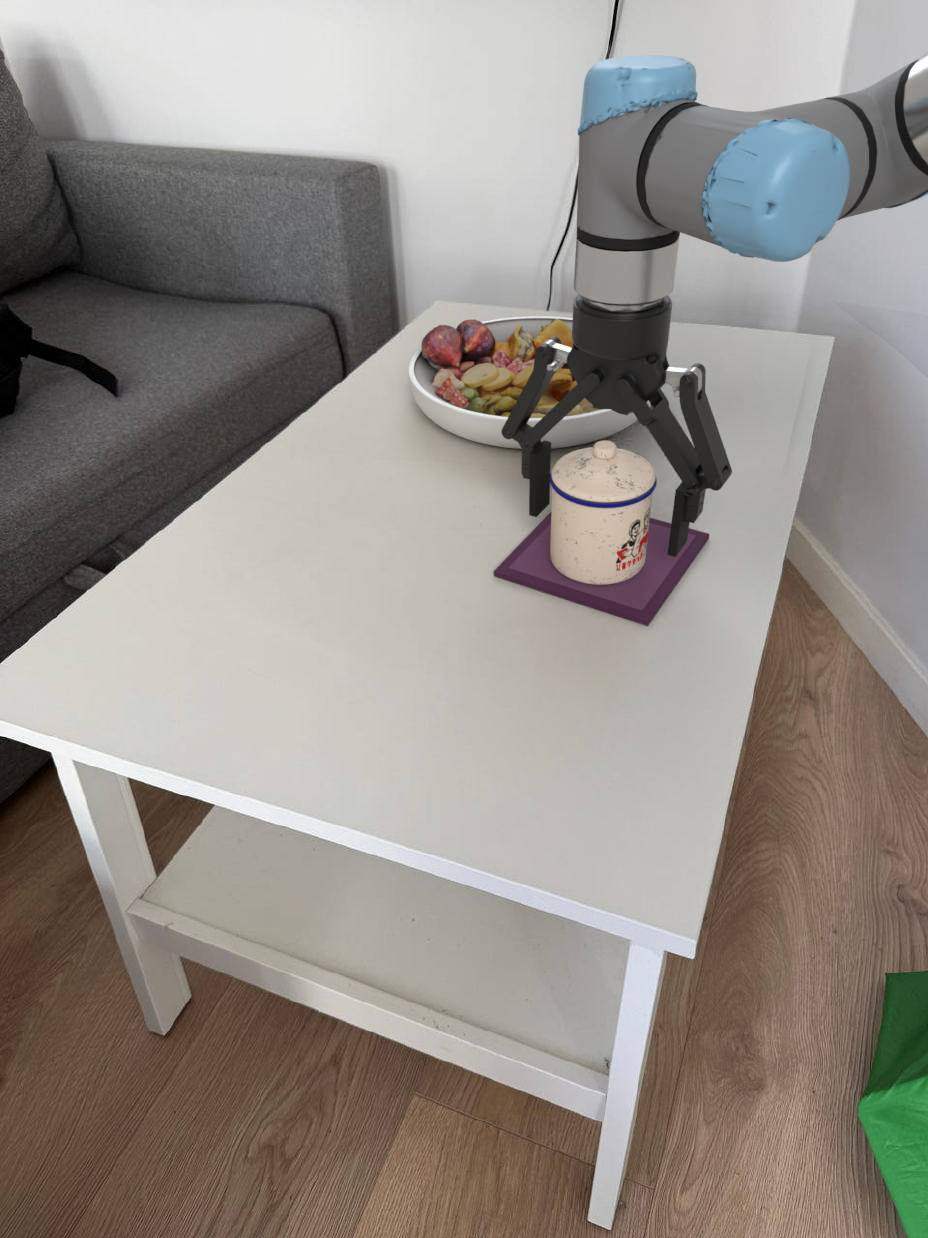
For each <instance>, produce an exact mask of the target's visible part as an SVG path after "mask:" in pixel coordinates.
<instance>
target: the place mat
mask: <svg viewBox="0 0 928 1238" xmlns="http://www.w3.org/2000/svg"><path fill="white" fill-rule="evenodd" d="M551 512H552V510H551V511H550V512H549V513H548V514H547V515H546V516H545V517H544V518H543V519H542V520H541V521H540V522H539V524H538V525H536V526H535V528H534V529H533V530H532V531H531V532H530V533H529V534H527V536H526V537H525V538H524V539H523V540H522V541H521V542H520V543H519V544H518V545H517V546H516V547H515V548H514V549H513V551H511V553H510V554H509V555H507V557H505V559H504V560H503V561H502V562H501V563H500V564H499V565H498V566H497V567H496V568H495V569H494V570H493V577H495V578H499V579H502V580H505V581H507V582H511V583H514V584H517V585H520V586H523V587H526V588H530V589H533V590H535V591H539V592H542V593H545V594H547V595H551V596H554V597H557V598H560V599H564V600H566V601H570V602H573V603H575V604H578V605H582V606H585V607H588V608H591V609H594V610H597V611H600V612H603V613H605V614H609V615H613V616H616V617H618V618H620V619H621V618H623V619H625V620H628V621H631V622H634V623H637V624H640V625H644V626H646V627H648V626H649V625H650V624H651V623H652V621H653V620H654V618H655V617H656V616H657V614H658V613H659V611H660V609H661V608H662V607H663V605H664V604H665V603H666V601H667V600H668V598H669V597H670V595H672V592H673V591H674V590H675V588H676V587H677V585H678V584H679V583H680V582H681V580H682V578H683V577H684V575H685V574H686V573H687V571H688V570H689V568H690V567H691V565H692V564H693V563H694V561H695V559H697V557H698V555H699V554H700V552H701V551H702V549H704V547H705V545H706V544H707V542H708V541H709V539H710V533H708V532H704V531H701V530H697V529H693V528H690V527H689V530H688V537H687V542H686V544H685V545H684V546H683V548H682V549H681V550H680V552H679V553H678V555H677V556H676V557H673V556H670V555H667V554H668V546H669V538H670V530H671V522H668V521H663V520H660V519H658V518H653V517H650V521H649V530H648V540H647V549H646V558H645V563H644V565H643V567H642V569H641V570H640V571H639V572H638V573H637V574H636V575H635V576H633V577H631V578H630V579H628V580H625V581H622V582H619V583H614V584H607V585H594V584H586V583H582V582H578V581H575V580H572V579H570V578H568V577H566V576H565V575H563V574H562V573H560V572H559V571H558V570H557V569H556V568H555V566H554V565H553V563H552V561H551V557H550V545H551Z"/></svg>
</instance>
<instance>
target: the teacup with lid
mask: <svg viewBox="0 0 928 1238" xmlns="http://www.w3.org/2000/svg"><path fill="white" fill-rule="evenodd" d="M657 484H658V479H657V476H656V472H655V469H654V467H653V466H652V464H651V463H650V462H649V461H648V460H647V459H646V458H644V457H643V456H641V455H639V454H637V453H635V452H633V451H630V450H627V449H623V448H618V447H617V445H616V443H615V442H613V441H611V440H605V439H604V440H598V441H596V442H595V444H593V446H591V447H584V448H580V449H576V450H573V451H571V452H568V453H566V454H564V455H562V457H560V458H559V459H557V461H556V462H555V464H554V465H553V467H552V468H551V470H550V487H551V511H552V512H551V511H550V512H551V545H550V557H551V561H552V563H553V565H554V566H555V568H556V569H557V570H558V571H559V572H560V573H562V574H563V575H565V576H566V577H568V578H570V579H572V580H575V581H578V582H582V583H586V584H594V585H607V584H614V583H619V582H622V581H625V580H628V579H630V578H631V577H633V576H635V575H636V574H637V573H638V572H639V571H640V570H641V569H642V567H643V565H644V563H645V558H646V549H647V540H648V530H649V521H650V518H651V513H652V512H651V511H652V502H653V492H654V491H655V490H656V487H657Z"/></svg>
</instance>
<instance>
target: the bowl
mask: <svg viewBox="0 0 928 1238" xmlns="http://www.w3.org/2000/svg"><path fill="white" fill-rule="evenodd" d="M572 324H573V317H567V316H566V317H565V316H551V315H549V316H548V315H546V316H545V315H541V316H540V315H531V316H528V315H527V316H512V317H502V318H495V319H489V320H484V321H480V320H477V319H465V320H462V321H461V322H460V323H459V324H458V325H457V326H456V328H455V327H454V326H451V325H447V324H439V325H437V326H435V327H433V329H431V330H430V331H428V332H427V333H426V334H425V336H424V337H423V338H422V340H421V345H420V346H421V347H419V348H418V350H416V351H415V353H414V354H413V355H412V356H411V358H410V361H409V363H408V366H407V376H408V383H409V389H410V392H411V395H412V397H413V399H414V401H415V402H416V405H417V406H418V407H419V408H420V410H421V411H422V413H423V414H425V416H427V417H428V418H429V420H431V421H432V422H433V423H435V424H436V425H437V426H439V427H440V428H442V429H444V430H445V431H447V432H449V433H451V434H454V435H456V436H458V437H461V438H463V439H465V440H469V441H472V442H476V443H479V444H482V445H488V446H493V447H499V448H507V449H518V450H522V449H521V447H520V445H519V443H518V442H517V441H515V440H514V439H512V438H511V439H506V438H504V437H503V435H502V432H501V431H502V428H503V426H504V425H505V423H506V421H507V419H508V417H509V415H510V413H511V411H512V409H513V408H514V406H515V404H516V402H517V400H518V398H519V396H520V394H521V392H522V391H523V389H524V387H525V385H526V383H527V381H528V379H529V377H530V375H531V374H532V372H533V368H534V360H535V352H536V349H537V348H538V347H539V346H540V345H542V344H543V343H544V342H546V341H547V340H548V339H550V338H551V337H553V336H556V337H558V338H559V339H560V340H561V344H562V345H565V346H568V347H571V348H572V346H573V340H572ZM576 385H577V382H576V381H575V379H574V377H573V375H572V373H571V372H570V370H569V368H568V366H567V363H564V365H563V366H562V367H561V368H560V369H558V370H557V371H556V372H555V374H554V375H553V377H552V379H551V381H550V383H549V384H548V386H547V388H546V390H545V392H544V393H543V395H542V397H541V399H540V401H539V402H538V404H537V406H536V408H535V410H534V412H533V413H532V415H531V417H530V419H529V421H528V422H527V424H528V425H530V426H531V427H534V426H535V425H536V424H537V423H538V422H539V421H540V420H541V419H542V418H543V417H544V416H545V415H546V414H547V413H548V412H549V411H550V410H551V409H552V408H553V407H554V406H556V405H557V404H558V403H559V402H560V401H561V400H562V399H563V398H564V397H565V396H566V395H567V394H568V393H569V392H570V391H571V390H572V389H573V388H574V387H575V386H576ZM647 404H648V405H649V407H651V404H650V402H649V400H648V401H647ZM637 421H638V419H637V418H636V416H635V414H634V413H629V414H628V415H623V414H619V413H617V412H615V411H613V410H611V409H596V408H593V405H592V404H591V403H589V402H588V401H587V399H586V398H584V399H583V400H582V401H581V402H580V403H579V404H578V405H577V406H576V407H575V408H574V409H573V410H571V411H570V412H569V413H568V414H567V415H566V416H565V417H564V418H563V419H562V420H561V421H560V422H559V423H558V424H556V425H555V426H554V427H553V428H552V429H551V430H550V431H549V432H548V433H547V434H546V435H545V436H544V437H543V438H541V442H542V441H544V440H545V441H549V442H551V449H560V448H569V447H575V446H580V445H585V444H588V443H593V442H597V441H600V440H602V439H605V438H607V437H610V436H613V435H615V434H617V433H619V432H621V431H623V430H624V429H627V428H628V427H631V425H633V424H634V423H636V422H637Z"/></svg>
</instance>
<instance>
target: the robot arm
mask: <svg viewBox="0 0 928 1238" xmlns="http://www.w3.org/2000/svg"><path fill="white" fill-rule="evenodd" d="M697 97H698V92H697V70H696V66H695V65H694V64H693V63H692V62H691V61H689V60H686V59H685V58H683V57H678V56H672V55H671V56H670V55H658V54H657V55H654V54H653V55H649V54H648V55H647V54H646V55H645V54H644V55H626V56H617V57H611V58H606V59H603V60H600V61H598V62H596V63H595V64H593V65H592V66H591V67H590V69H588V71H587V73H586V75H585V77H584V81H583V91H582V100H581V110H580V121H579V126H578V128H577V136H578V166H577V167H578V168H577V171H578V172H577V198H576V200H577V202H576V204H577V205H576V207H577V208H576V237H575V238H576V240H575V256H574V272H573V273H574V274H573V290H574V291H575V293H577V295H576V296H575V297H574V299H573V303H572V318H573V324H572V340H573V346H572V348H571V347H568V346H565V345H562V344H561V340H560V339H559V338H558V337H556V336H553V337H551V338H550V339H548V340H547V341H546V342H544V343H543V344H542V345H540V346H539V347H538V348H537V349H536V352H535V360H534V368H533V372H532V374H531V375H530V377H529V379H528V381H527V383H526V385H525V387H524V389H523V391H522V392H521V394H520V396H519V398H518V400H517V402H516V404H515V406H514V408H513V409H512V411H511V413H510V415H509V417H508V419H507V421H506V423H505V425H504V426H503V428H502V431H501V432H502V435H503V437H504V438H506V439H511V438H512V439H514V440H515V441H517V442H518V443H519V445H520V447H521V449H520V450H521V475H522V479H525V480H528V481H529V484H528V485H529V486H528V487H529V489H528V490H529V491H528V492H529V493H528V516H531V517H533V518H537V517H538V516H539V515H540V514H541V513H542V512H543V511H544V510H545V509H546V508H547V507H548V506H549V505H550V499H551V498H550V497H551V483H550V473H551V469H552V468H551V467H552V465H551V464H552V448H551V442H549V441H545V440H544V441H542V442H541V438H543V437H544V436H545V435H546V434H547V433H548V432H549V431H550V430H551V429H552V428H553V427H554V426H555V425H556V424H558V423H559V422H560V421H561V420H562V419H563V418H564V417H565V416H566V415H567V414H568V413H569V412H570V411H571V410H573V409H574V408H575V407H576V406H577V405H578V404H579V403H580V402H581V401H582V400H583V399H584V398H586V399H587V401H588V402H589V403H591V404H592V405H593V408H596V409H611V410H613V411H615V412H617V413H619V414H623V415H628V414H629V413H634V414H635V416H636V418H637V419H638V420H637V421H638V423H639V424H640V425H641V426H643V427H646V428H647V430H648V432H649V433H650V435H651V437H653V440H654V441H655V442H656V443H657V445H658V447H659V448H660V450H661V451H662V453H663V455H664V456H665V458H666V459H667V461H668V462H669V464H670V465H671V467H672V468H673V470H674V472H675V473H676V475H677V476H678V478H679V480H680V481H681V483H680V484H679V485H678V486H677V487H676V489H675V492H674V498H673V499H674V500H673V507H672V515H671V522H670V523H671V530H670V538H669V546H668V554H667V555H670V556H673V557H676V556H677V555H678V553H679V552H680V550H681V549H682V548H683V546H684V545H685V544H686V542H687V537H688V530H689V528H690V524H695V522H697V520H698V519H699V517H700V516H701V514H702V513H703V511H704V504H705V498H706V491H707V490H709V489H711V490H712V491H715V492H716V491H717V492H718V491H720V490H721V489H722V488H723V486H724V485H725V484H726V482H728V480H729V478H730V477H731V476H732V473H733V469H732V466H731V464H730V460H729V457H728V454H727V452H726V448H725V445H724V442H723V439H722V437H721V434H720V431H719V428H718V425H717V422H716V419H715V416H714V413H713V411H712V406H711V404H710V402H709V398H708V395H707V393H706V367H705V366H704V365H703V364H702V363H699V362H697V363H694V364H693V365H691V367H679V366H670V363H669V361H668V355H667V352H668V347H669V346H668V345H669V338H670V328H671V320H672V319H671V318H672V312H673V311H672V309H673V300H672V299H671V297H670V296H669V295H670V294H671V293H673V291H674V287H675V281H676V280H675V278H676V270H677V263H678V262H677V261H678V251H679V244H680V243H679V242H680V236H681V234H684V235H687V236H689V237H692V238H696V239H698V240H701V241H704V242H707V243H710V244H712V245H715V246H718V247H721V248H722V249H724V250H727V251H728V252H729V253H731V254H738V255H739V256H741V257H744V258H753V259H754V258H756V259H762V260H767V261H770V262H776V263H786V262H787V263H789V262H792V261H796V260H798V259H800V258H803V257H804V256H807V255H808V254H809V253H811V251H812V249H813V247H814V245H815V244H816V243H818V242H820V241H824V239H825V238H827V236H828V235H829V234H830V232H831V231H832V230H833V228H834V227H835V225H836V223H837V222H838V221H841V220H843V219H846V218H851V217H854V216H858V215H862V214H866V213H869V212H873V211H879V210H881V209H893V208H898V207H901V206H904V205H906V204H910V203H912V202H914V201H918V200H919V199H922V198H924V197H925V196H927V195H928V51H927V52H926V53H924V54H922V55H921V56H920V57H919V58H918V59H916V60H914V61H912V62H910V63H908V64H906V65H904V66H903V67H901V68H899V69H898V70H896V71H894V72H893V73H891V74H889V75H888V76H885V77H883V78H882V79H881V80H878V81H877V82H876V83H874V84H872V85H870V86H868V87H865V88H863V89H861V90H858V91H855V92H854V91H853V92H849V93H843V94H840V95H834V96H829V97H825V98H820V99H816V100H809V101H805V102H800V103H799V102H798V103H795V104H788V105H782V106H778V107H773V108H768V109H763V110H755V111H743V110H742V111H741V110H734V109H727V108H721V107H716V106H715V107H714V106H710V105H706V104H702V103H699V102H697V100H698V98H697ZM564 363H567V366H568V368H569V370H570V372H571V373H572V375H573V377H574V379H575V381H576V382H577V385H576V386H575V387H574V388H573V389H572V390H571V391H570V392H569V393H568V394H567V395H566V396H565V397H564V398H563V399H562V400H561V401H560V402H559V403H558V404H557V405H556V406H554V407H553V408H552V409H551V410H550V411H549V412H548V413H547V414H546V415H545V416H544V417H543V418H542V419H541V420H540V421H539V422H538V423H537V424H536V425H535V426H534V427H531V426H530V425H528V424H527V422H528V421H529V419H530V417H531V415H532V413H533V412H534V410H535V408H536V406H537V404H538V402H539V401H540V399H541V397H542V395H543V393H544V392H545V390H546V388H547V386H548V384H549V383H550V381H551V379H552V377H553V375H554V374H555V372H556V371H557V370H558V369H560V368H561V367H562V366H563V365H564ZM666 384H668V385H669V386H670V387H672V391H673V396H674V397H675V398H679V405H680V410H681V413H682V417H683V419H684V422H685V424H686V427H687V430H688V433H689V435H690V438H689V437H688V435H687V434H686V432H685V431H684V429H683V427H682V425H681V424H680V423H679V421H678V420H677V418H676V417H675V415H674V413H673V412H672V410H671V408H670V401H669V400H668V398H667V396H666V395H665V393H664V391H663V390H662V387H663V386H664V385H666ZM648 400H649V402H650V404H651V407H649V405H648V404H647V401H648ZM690 439H691V440H690Z"/></svg>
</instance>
